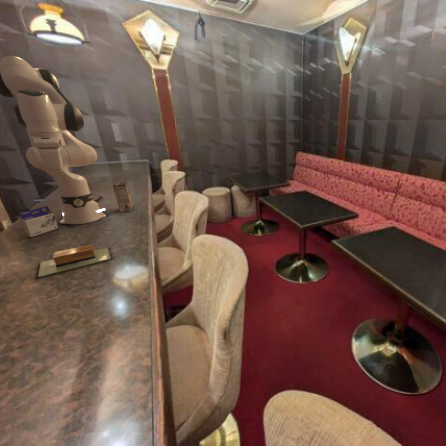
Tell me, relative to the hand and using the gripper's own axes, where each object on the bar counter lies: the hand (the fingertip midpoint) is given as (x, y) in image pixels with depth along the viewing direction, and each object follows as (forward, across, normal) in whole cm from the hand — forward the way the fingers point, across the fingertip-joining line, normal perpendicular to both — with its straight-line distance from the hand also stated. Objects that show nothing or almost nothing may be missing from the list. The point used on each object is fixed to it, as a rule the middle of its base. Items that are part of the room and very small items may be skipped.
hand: (60, 178), depth 94 cm
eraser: (+28, +14, -2) cm, 32 cm away
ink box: (+29, -28, -13) cm, 43 cm away
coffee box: (+29, -46, +22) cm, 59 cm away
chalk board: (+29, +14, -2) cm, 32 cm away
